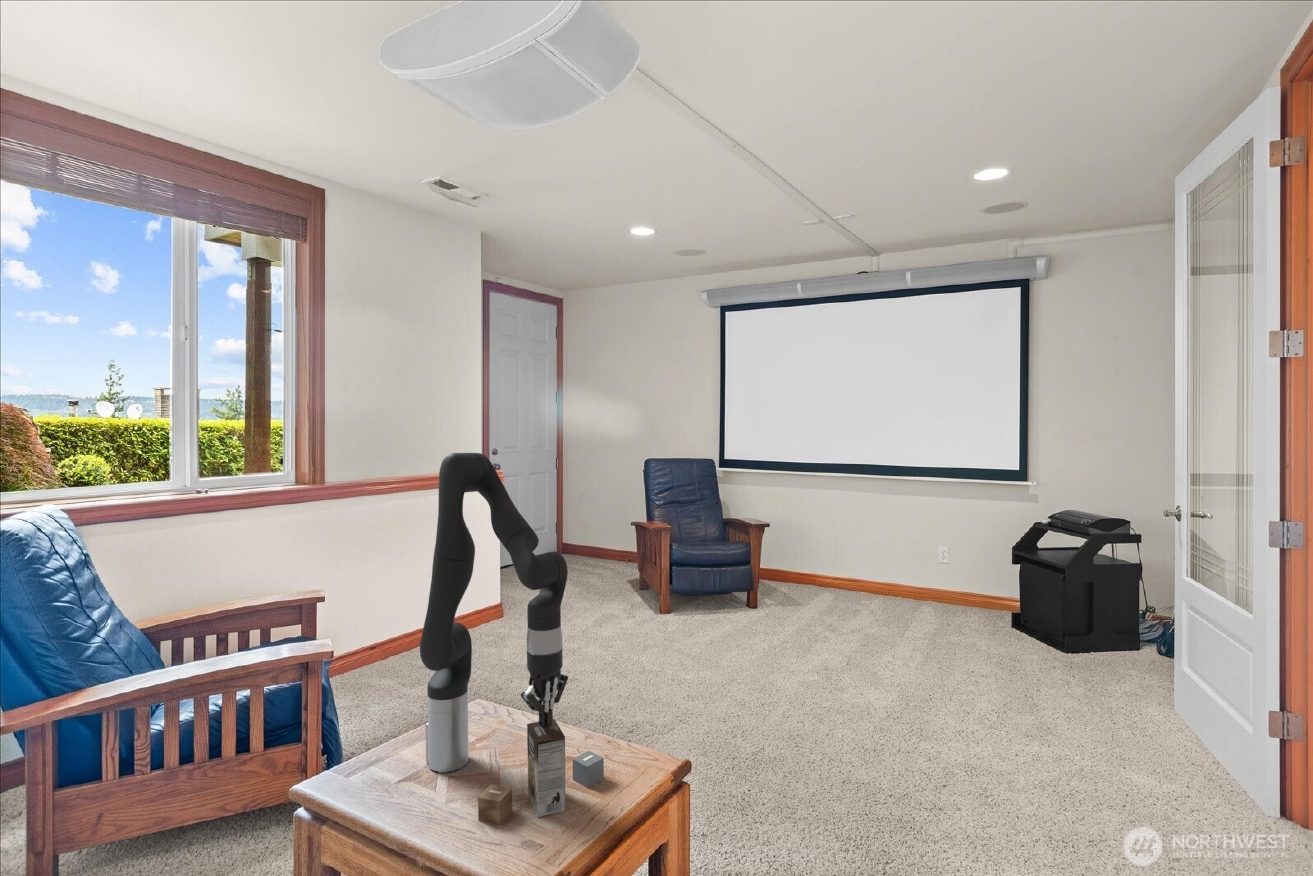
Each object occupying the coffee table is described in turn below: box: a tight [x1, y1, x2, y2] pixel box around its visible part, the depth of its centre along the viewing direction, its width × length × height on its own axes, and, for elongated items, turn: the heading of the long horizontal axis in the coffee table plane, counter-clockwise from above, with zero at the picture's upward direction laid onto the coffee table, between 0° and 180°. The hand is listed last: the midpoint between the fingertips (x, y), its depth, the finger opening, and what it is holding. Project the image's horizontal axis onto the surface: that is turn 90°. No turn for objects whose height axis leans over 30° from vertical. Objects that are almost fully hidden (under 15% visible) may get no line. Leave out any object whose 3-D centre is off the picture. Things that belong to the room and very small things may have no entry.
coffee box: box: [526, 718, 566, 818], centre depth 141 cm, size 9×6×16 cm
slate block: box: [572, 750, 605, 789], centre depth 150 cm, size 5×5×5 cm
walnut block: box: [477, 784, 513, 826], centre depth 137 cm, size 5×5×5 cm
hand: (545, 726), depth 141 cm, fingers closed
